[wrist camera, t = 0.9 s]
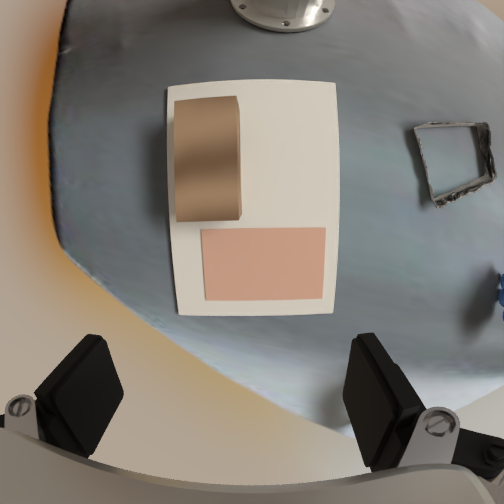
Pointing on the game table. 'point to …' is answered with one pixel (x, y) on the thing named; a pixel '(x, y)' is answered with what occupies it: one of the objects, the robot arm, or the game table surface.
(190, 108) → the walnut block
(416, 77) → the game table surface
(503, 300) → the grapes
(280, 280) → the rubber mat
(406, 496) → the robot arm
